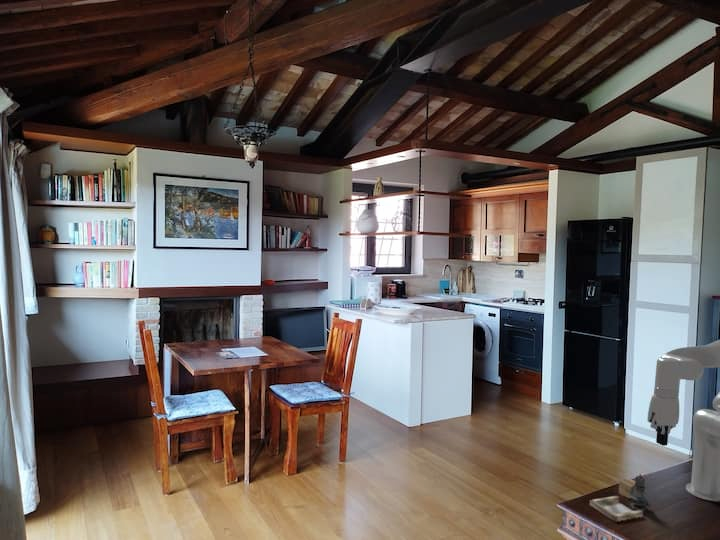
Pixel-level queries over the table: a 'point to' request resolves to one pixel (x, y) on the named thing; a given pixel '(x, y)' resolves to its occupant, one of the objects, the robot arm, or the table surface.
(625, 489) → the oak block
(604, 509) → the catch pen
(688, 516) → the table surface
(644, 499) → the grey chess piece
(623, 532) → the table surface
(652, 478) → the table surface
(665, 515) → the table surface
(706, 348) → the robot arm
